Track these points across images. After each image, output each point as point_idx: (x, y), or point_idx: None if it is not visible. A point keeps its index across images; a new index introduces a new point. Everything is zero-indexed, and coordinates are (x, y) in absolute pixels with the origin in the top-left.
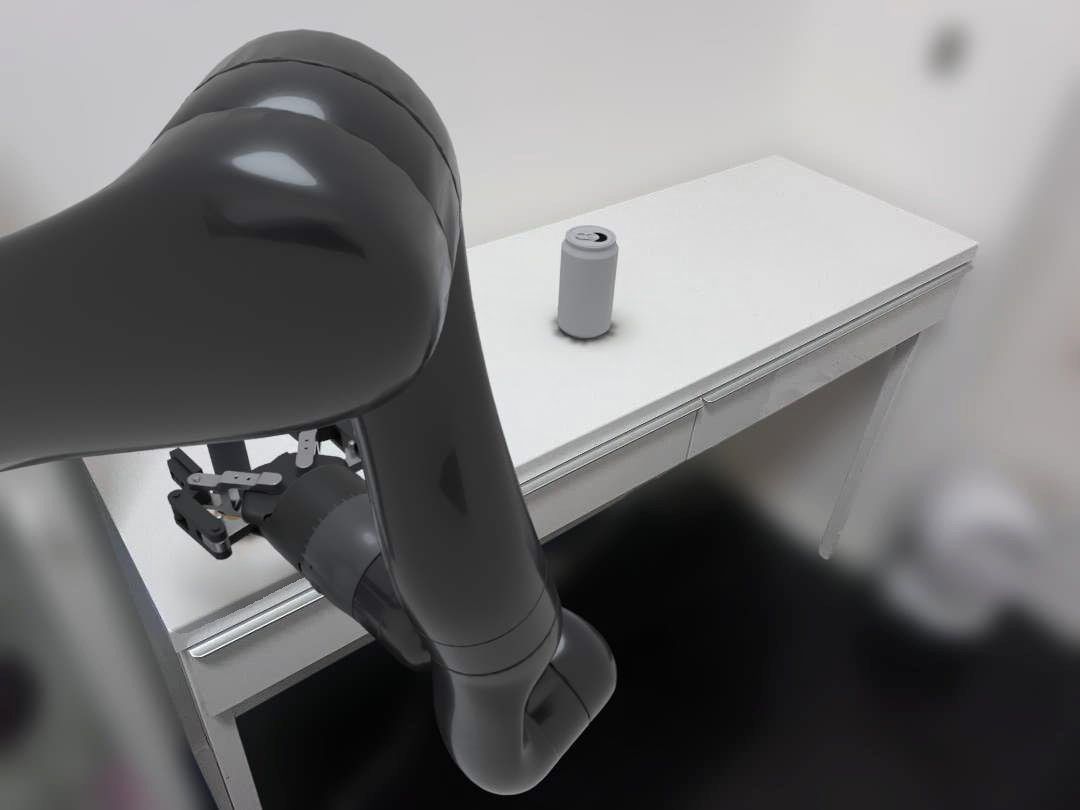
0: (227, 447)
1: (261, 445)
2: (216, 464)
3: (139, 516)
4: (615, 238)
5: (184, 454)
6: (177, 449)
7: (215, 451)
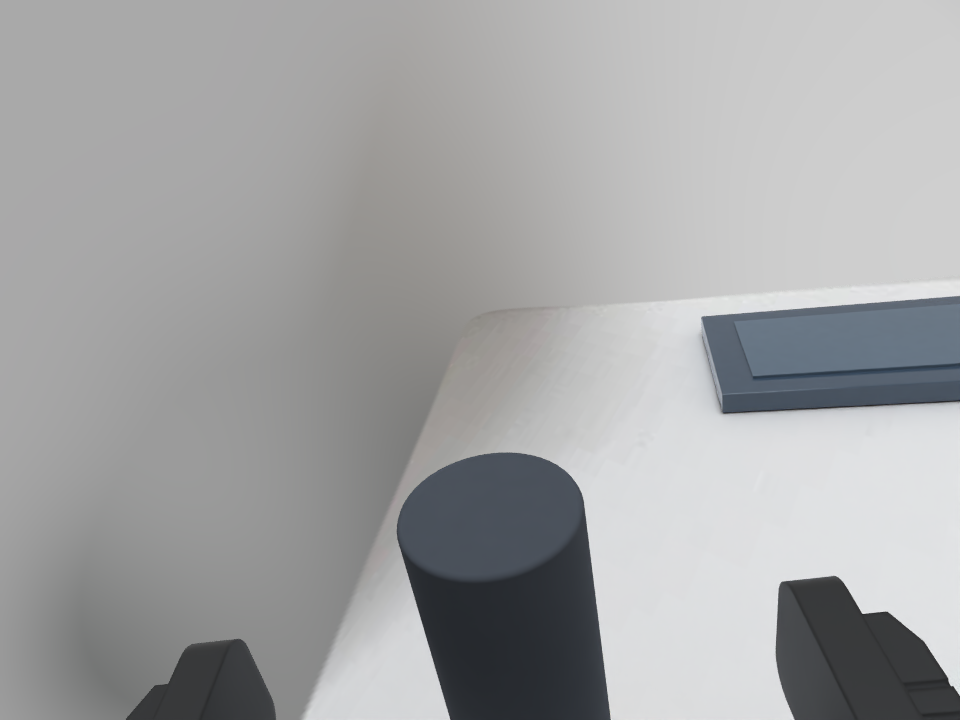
0: (488, 716)
1: (744, 622)
2: None
3: (354, 689)
4: None
5: (197, 708)
6: (214, 653)
7: (446, 698)
